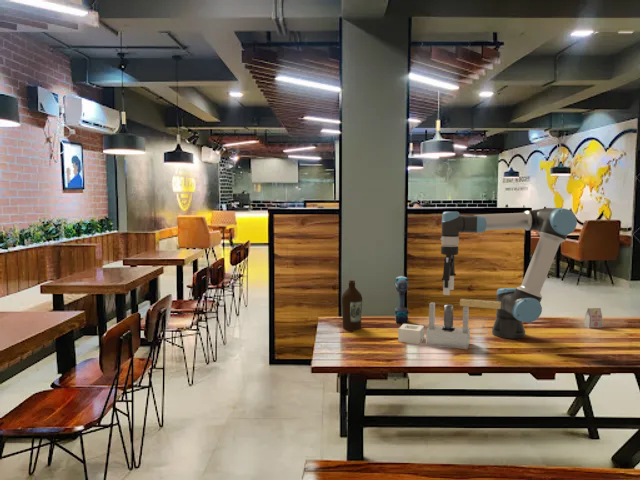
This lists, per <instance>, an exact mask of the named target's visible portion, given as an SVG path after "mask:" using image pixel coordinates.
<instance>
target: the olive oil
mask: <svg viewBox="0 0 640 480" xmlns="http://www.w3.org/2000/svg"><path fill="white" fill-rule="evenodd" d="M362 307H363V296H362V294H361V292H360V291H359V290H358V288H356V280H355V279H349V280H348V287H347V289H346V290H345V291H344V292H343V293H342V296H341V311H342V314H341V315H342V328H343V329H344V330H347V331H357V330H361V328H362V318H363V317H362V310H363V308H362Z"/></svg>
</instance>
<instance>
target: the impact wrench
mask: <svg viewBox="0 0 640 480" xmlns="http://www.w3.org/2000/svg"><path fill="white" fill-rule="evenodd" d="M393 284H394V286H395V289H396V291H397V292H398V304H399V305H398V306H397V307H395V308H394V320H395V323H397V324H409V323H408V322H409V316H408V314H409V310H408V308H407V307H405V293H406V292H407V291H408V288H409V284H410V282H409V279H408V278H407V276H405V275H403V274H399V275H397V276H396V277H395V279H394V283H393Z"/></svg>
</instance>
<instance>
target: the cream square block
mask: <svg viewBox="0 0 640 480" xmlns="http://www.w3.org/2000/svg"><path fill="white" fill-rule="evenodd" d="M397 330H398V333H397V334H398V337H397V339H398V343H399V342H401V343H410V344H418V345H420V344H421V343H422V342H423V340H424V339H425V326H424V325H420V324H411V323H410V324H409V323H402V325H401V326H399V327H398V329H397Z"/></svg>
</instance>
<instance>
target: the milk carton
mask: <svg viewBox="0 0 640 480" xmlns="http://www.w3.org/2000/svg"><path fill="white" fill-rule="evenodd" d="M584 316H585V317H584V327H585V328H587V329H602V328H603V313H602V309H601V307H588V308H587V310H586V313H585V315H584Z"/></svg>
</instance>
